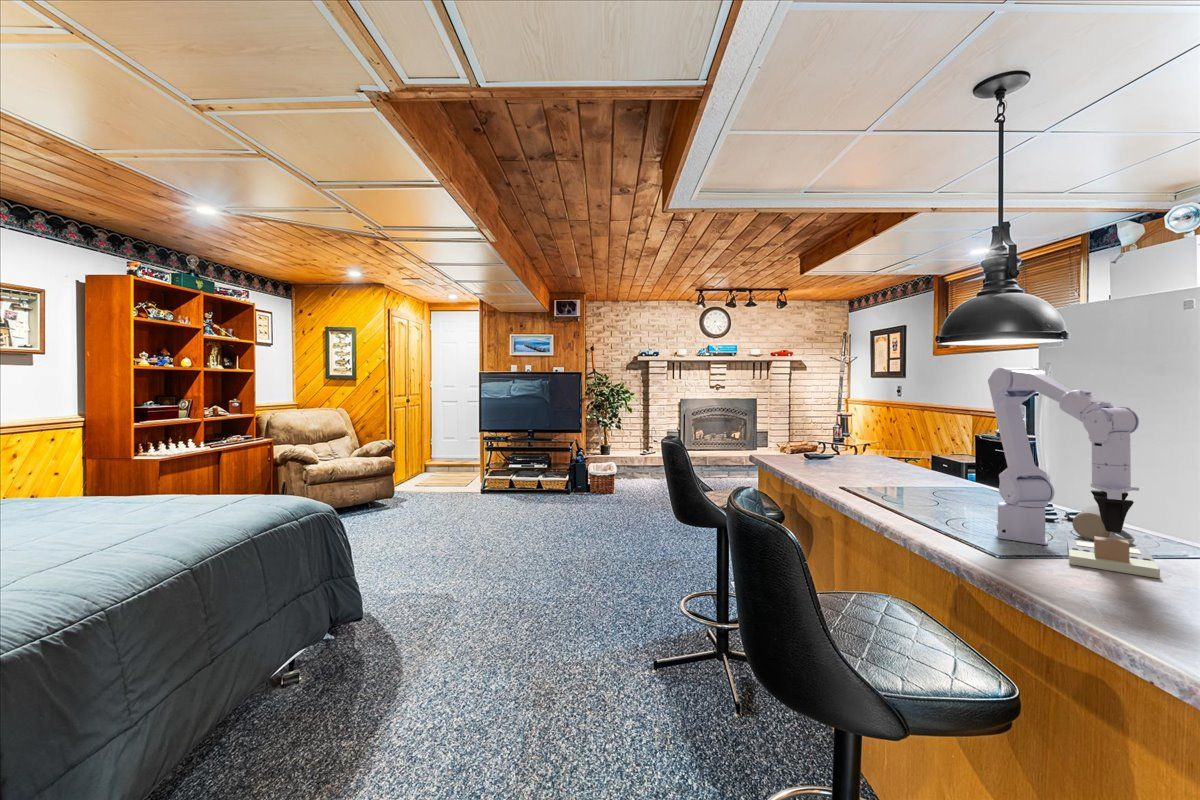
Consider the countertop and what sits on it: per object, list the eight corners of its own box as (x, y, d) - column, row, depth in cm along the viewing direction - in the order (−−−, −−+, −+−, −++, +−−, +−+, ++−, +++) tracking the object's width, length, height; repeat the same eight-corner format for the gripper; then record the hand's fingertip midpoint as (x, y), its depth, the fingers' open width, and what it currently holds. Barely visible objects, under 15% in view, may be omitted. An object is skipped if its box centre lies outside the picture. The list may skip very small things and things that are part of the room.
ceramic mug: (1070, 537, 126) (1070, 507, 126) (1079, 532, 130) (1079, 503, 130) (1130, 548, 117) (1130, 516, 117) (1137, 542, 122) (1138, 511, 121)
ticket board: (1068, 557, 111) (1068, 547, 111) (1067, 546, 118) (1067, 537, 118) (1154, 570, 102) (1154, 560, 102) (1147, 558, 110) (1147, 548, 110)
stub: (1069, 564, 106) (1069, 537, 106) (1068, 556, 111) (1068, 531, 111) (1159, 578, 98) (1159, 549, 98) (1154, 570, 102) (1154, 542, 102)
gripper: (1143, 469, 96) (1144, 539, 96) (1134, 461, 107) (1134, 524, 107) (1092, 466, 101) (1093, 532, 101) (1088, 459, 111) (1088, 519, 111)
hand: (1111, 528), depth 104 cm, fingers open, 7 cm apart
